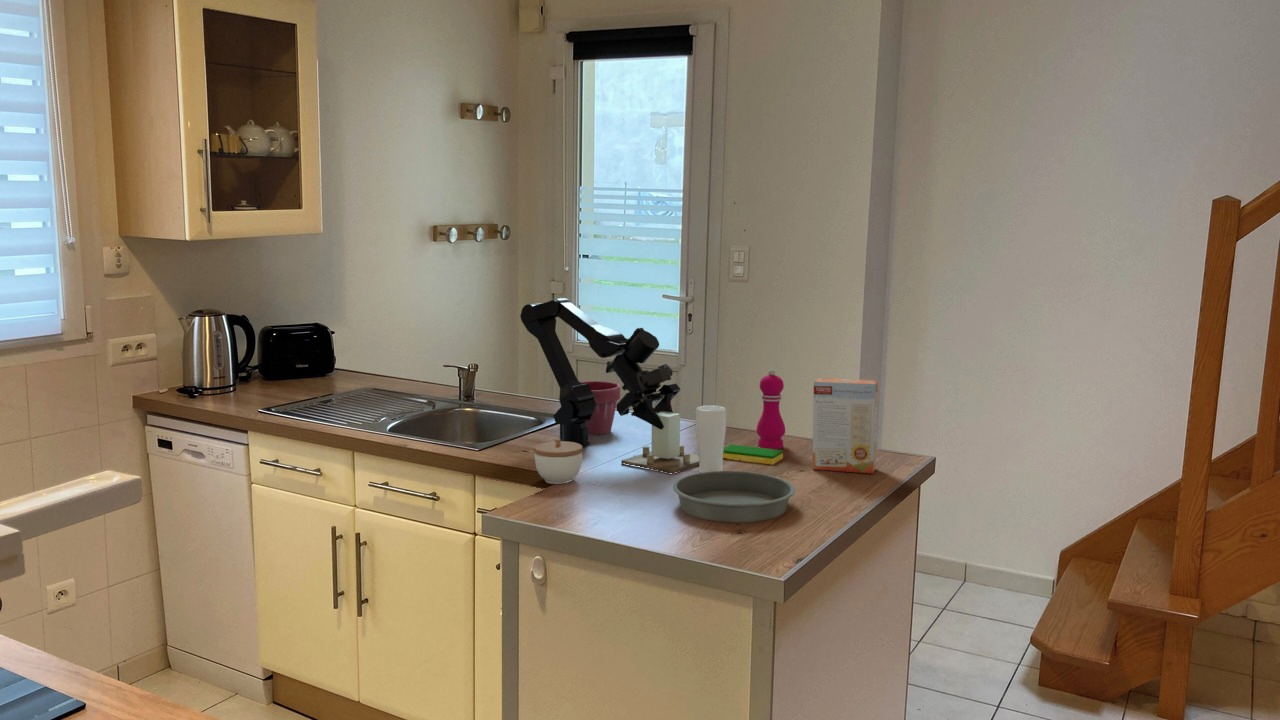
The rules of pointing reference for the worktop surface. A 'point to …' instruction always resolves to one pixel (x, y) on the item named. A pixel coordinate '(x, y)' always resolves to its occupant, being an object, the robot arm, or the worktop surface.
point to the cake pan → (733, 495)
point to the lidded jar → (558, 460)
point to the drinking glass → (710, 437)
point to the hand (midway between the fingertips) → (668, 426)
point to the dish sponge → (752, 454)
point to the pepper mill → (771, 413)
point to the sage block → (666, 436)
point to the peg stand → (664, 461)
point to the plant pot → (603, 406)
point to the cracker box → (845, 425)
